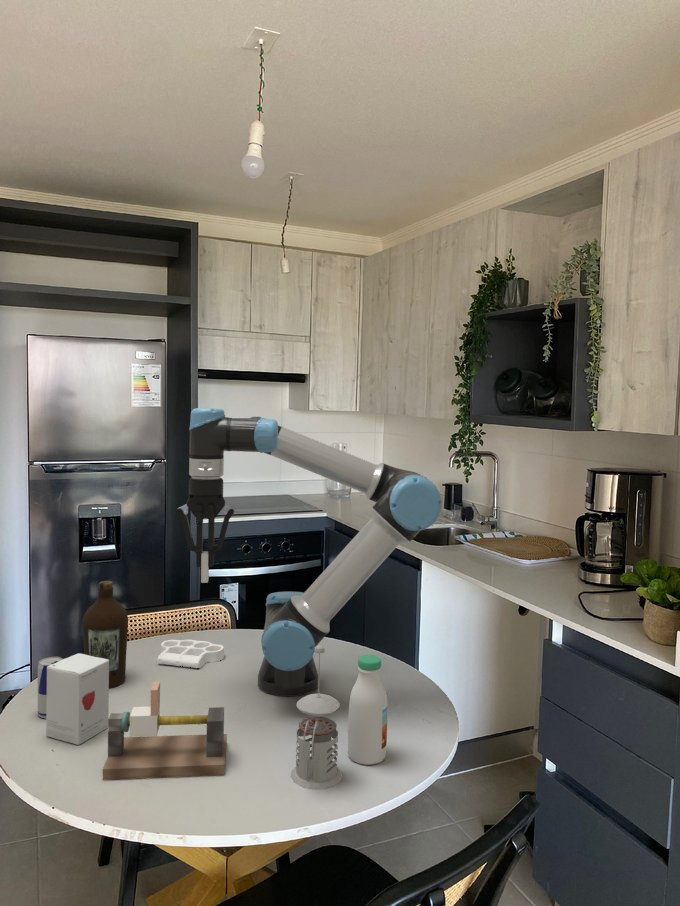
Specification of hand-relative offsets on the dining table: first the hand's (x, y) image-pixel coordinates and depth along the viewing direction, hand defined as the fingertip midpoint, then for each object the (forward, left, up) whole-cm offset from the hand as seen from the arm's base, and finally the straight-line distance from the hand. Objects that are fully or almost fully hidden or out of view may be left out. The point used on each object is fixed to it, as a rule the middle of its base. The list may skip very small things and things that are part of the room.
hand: (204, 581), depth 154 cm
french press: (-23, +31, -30) cm, 49 cm away
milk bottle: (-34, +24, -30) cm, 51 cm away
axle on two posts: (+5, +23, -29) cm, 38 cm away
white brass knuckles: (+6, -31, -30) cm, 44 cm away
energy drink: (+33, +1, -30) cm, 44 cm away
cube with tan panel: (+9, +23, -23) cm, 34 cm away
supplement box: (+25, +10, -30) cm, 40 cm away
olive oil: (+25, -16, -30) cm, 42 cm away
